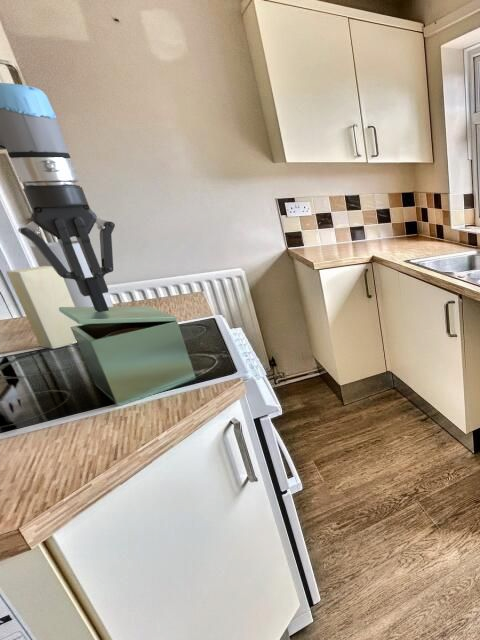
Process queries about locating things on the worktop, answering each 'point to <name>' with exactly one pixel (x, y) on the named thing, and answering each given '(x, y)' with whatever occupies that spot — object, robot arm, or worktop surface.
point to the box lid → (116, 315)
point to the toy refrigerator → (45, 304)
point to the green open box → (134, 358)
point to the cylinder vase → (70, 283)
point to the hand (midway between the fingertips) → (102, 310)
